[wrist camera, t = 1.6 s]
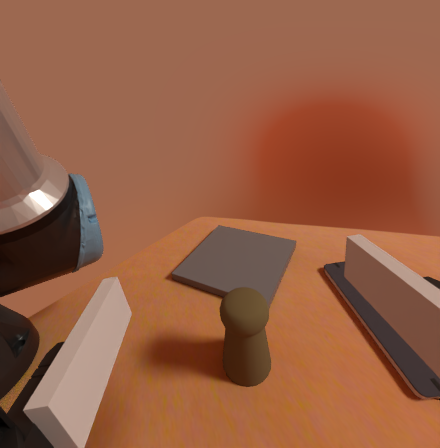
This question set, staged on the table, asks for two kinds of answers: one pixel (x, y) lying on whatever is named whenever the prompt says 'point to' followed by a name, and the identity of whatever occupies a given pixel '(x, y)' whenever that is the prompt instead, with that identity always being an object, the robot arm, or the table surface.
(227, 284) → the slate board
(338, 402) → the table surface
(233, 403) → the table surface
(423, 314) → the robot arm
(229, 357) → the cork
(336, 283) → the notebook
